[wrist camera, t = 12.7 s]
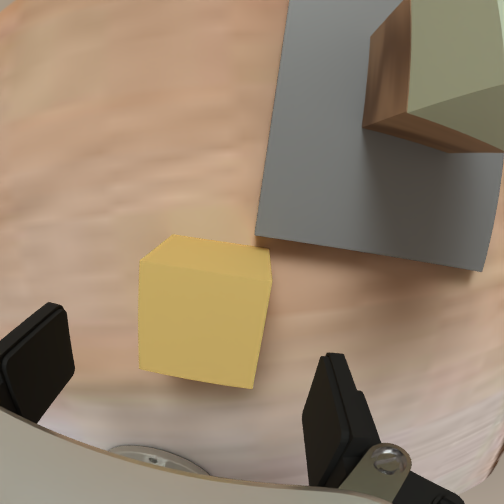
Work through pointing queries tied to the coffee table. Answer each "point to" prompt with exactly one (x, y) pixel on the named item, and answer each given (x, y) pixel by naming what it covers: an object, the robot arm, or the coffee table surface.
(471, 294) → the coffee table surface
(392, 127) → the walnut base block
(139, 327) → the ochre block
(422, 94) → the sage-green block
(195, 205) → the coffee table surface
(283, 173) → the slate base board
